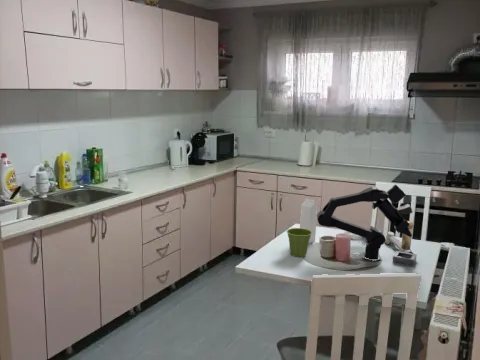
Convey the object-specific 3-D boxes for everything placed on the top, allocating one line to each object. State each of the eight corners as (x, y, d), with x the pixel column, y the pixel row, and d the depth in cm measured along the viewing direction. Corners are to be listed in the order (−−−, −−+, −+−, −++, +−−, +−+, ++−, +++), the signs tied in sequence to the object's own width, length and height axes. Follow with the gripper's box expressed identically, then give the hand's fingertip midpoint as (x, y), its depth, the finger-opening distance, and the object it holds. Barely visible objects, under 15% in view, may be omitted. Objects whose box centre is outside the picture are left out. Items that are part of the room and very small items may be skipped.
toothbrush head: (405, 251, 220) (383, 228, 243) (403, 264, 222) (381, 240, 245) (416, 251, 220) (393, 228, 244) (413, 264, 222) (391, 240, 246)
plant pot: (291, 248, 228) (293, 226, 226) (314, 253, 223) (316, 230, 220) (280, 255, 218) (282, 232, 216) (304, 261, 213) (306, 237, 210)
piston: (405, 250, 213) (408, 223, 210) (398, 247, 217) (401, 221, 214) (412, 249, 215) (415, 223, 212) (405, 246, 218) (408, 220, 216)
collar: (413, 266, 211) (413, 260, 210) (392, 262, 215) (393, 256, 214) (415, 260, 219) (416, 254, 218) (396, 256, 223) (396, 250, 222)
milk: (308, 243, 237) (311, 201, 232) (298, 241, 241) (301, 199, 236) (315, 241, 241) (318, 199, 237) (305, 238, 245) (308, 197, 241)
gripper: (407, 203, 202) (430, 229, 203) (398, 194, 221) (419, 218, 222) (386, 219, 205) (409, 245, 206) (379, 209, 223) (400, 233, 224)
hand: (410, 235), depth 214 cm, fingers closed on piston, 4 cm apart
